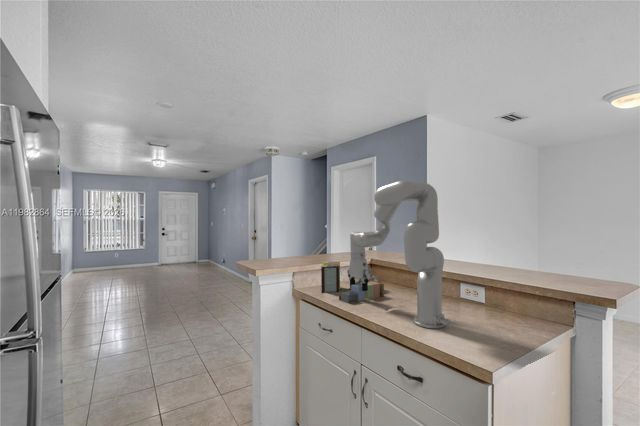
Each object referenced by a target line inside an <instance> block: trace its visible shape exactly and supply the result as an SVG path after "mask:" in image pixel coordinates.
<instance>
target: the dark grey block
mask: <svg viewBox="0 0 640 426" xmlns="http://www.w3.org/2000/svg"><path fill="white" fill-rule="evenodd" d="M340 296H341V302H343V301H344V302H343V303H345V302H346V303H345V304H348V303H352V302H357V301H358V293H355V292H352V291H351V290H348V291H342V292H340Z"/></svg>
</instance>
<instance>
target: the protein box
mask: <svg viewBox="0 0 640 426" xmlns="http://www.w3.org/2000/svg"><path fill="white" fill-rule="evenodd" d="M320 271H321V272H320V273H321V294H325V293H340V290H341V262H339V261H333V262H332V261H324V262H323V263H322V265H321V266H320Z"/></svg>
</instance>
